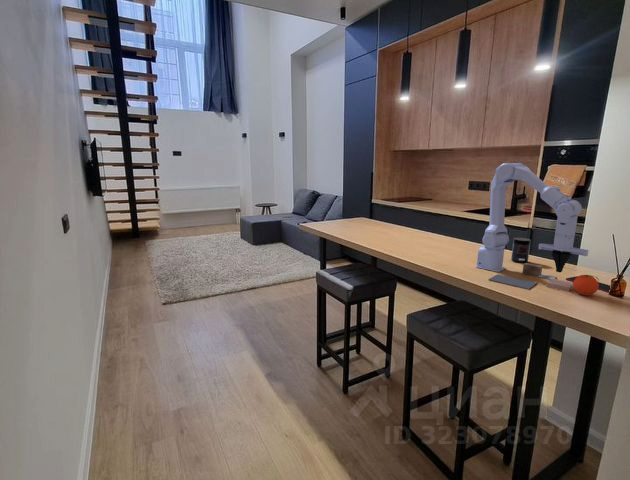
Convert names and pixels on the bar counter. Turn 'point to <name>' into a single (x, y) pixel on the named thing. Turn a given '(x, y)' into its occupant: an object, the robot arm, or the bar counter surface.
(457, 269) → the bar counter surface
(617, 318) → the bar counter surface
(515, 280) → the mat
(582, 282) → the clementine
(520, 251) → the supplement container
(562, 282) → the tile
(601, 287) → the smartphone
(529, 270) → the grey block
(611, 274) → the bar counter surface
